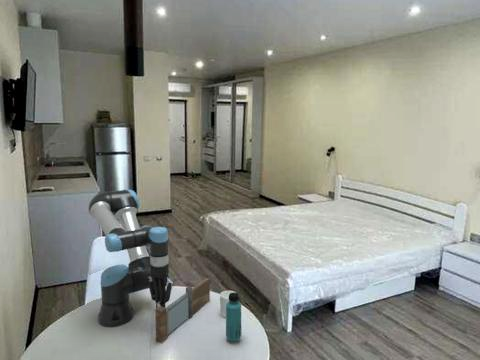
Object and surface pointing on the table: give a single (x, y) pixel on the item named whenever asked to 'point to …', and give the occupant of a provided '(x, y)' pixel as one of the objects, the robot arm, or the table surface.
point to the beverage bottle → (233, 318)
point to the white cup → (224, 301)
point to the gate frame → (195, 303)
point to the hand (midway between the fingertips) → (161, 316)
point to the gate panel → (176, 313)
